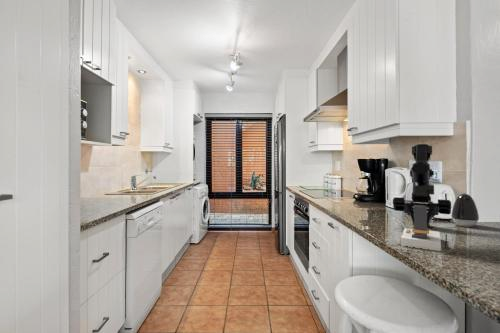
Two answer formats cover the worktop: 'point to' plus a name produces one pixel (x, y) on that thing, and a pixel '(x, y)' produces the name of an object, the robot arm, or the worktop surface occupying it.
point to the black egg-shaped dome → (465, 211)
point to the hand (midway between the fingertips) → (420, 223)
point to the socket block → (421, 240)
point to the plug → (420, 222)
